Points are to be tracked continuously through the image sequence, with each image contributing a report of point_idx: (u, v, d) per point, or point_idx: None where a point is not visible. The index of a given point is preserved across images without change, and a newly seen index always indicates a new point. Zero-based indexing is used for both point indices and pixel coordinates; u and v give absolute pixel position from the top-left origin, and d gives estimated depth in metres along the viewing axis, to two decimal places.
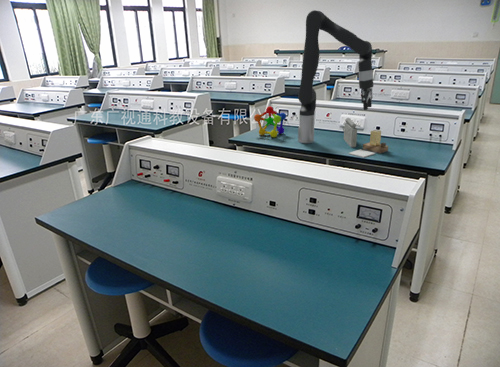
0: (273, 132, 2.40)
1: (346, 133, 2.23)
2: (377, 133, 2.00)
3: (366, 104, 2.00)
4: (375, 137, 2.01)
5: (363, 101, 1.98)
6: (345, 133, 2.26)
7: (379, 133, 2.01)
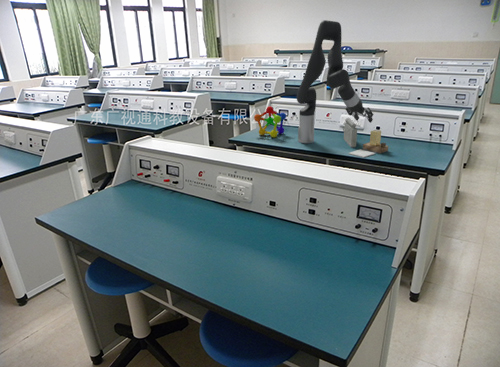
0: (273, 132, 2.40)
1: (346, 133, 2.23)
2: (377, 133, 2.00)
3: None
4: (375, 137, 2.01)
5: None
6: (345, 133, 2.26)
7: (379, 133, 2.01)
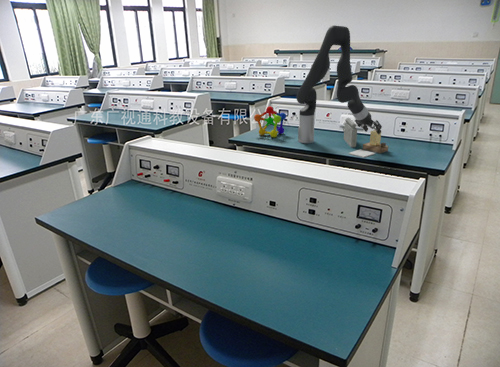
0: (273, 132, 2.40)
1: (346, 133, 2.23)
2: (377, 133, 2.00)
3: None
4: (375, 137, 2.01)
5: (359, 124, 2.03)
6: (345, 133, 2.26)
7: None
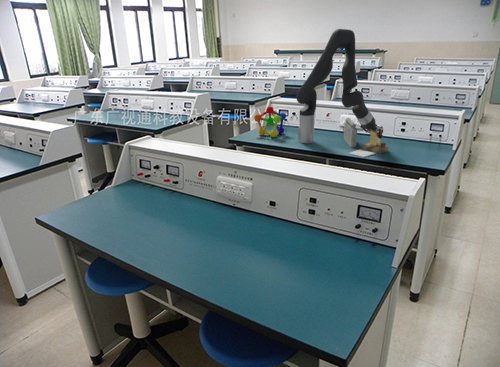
0: (273, 132, 2.40)
1: (346, 133, 2.23)
2: None
3: None
4: (375, 137, 2.01)
5: None
6: (345, 133, 2.26)
7: None
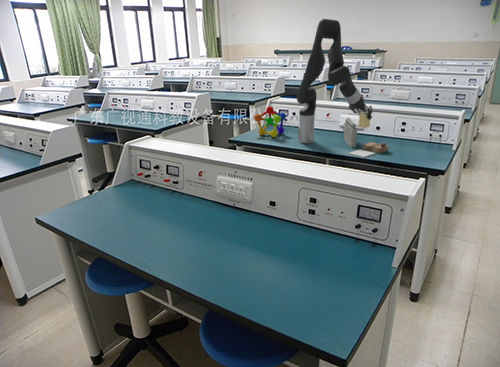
0: (273, 132, 2.40)
1: (346, 133, 2.23)
2: None
3: None
4: (364, 118, 1.91)
5: None
6: (345, 133, 2.26)
7: None
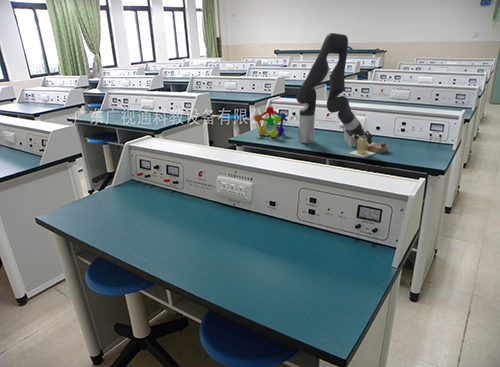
0: (273, 132, 2.40)
1: (346, 133, 2.23)
2: (364, 141, 1.95)
3: (354, 137, 2.00)
4: (362, 145, 1.96)
5: (350, 133, 2.01)
6: (345, 133, 2.26)
7: (366, 141, 1.96)
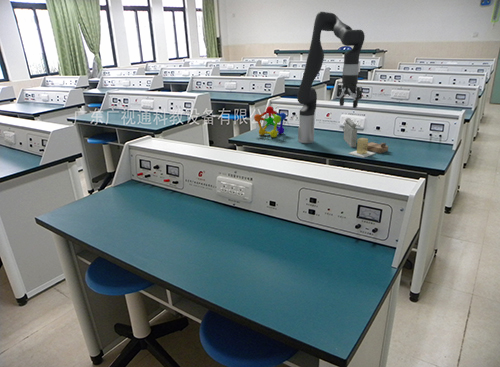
0: (273, 132, 2.40)
1: (346, 133, 2.23)
2: (364, 141, 1.95)
3: None
4: (362, 145, 1.96)
5: None
6: (345, 133, 2.26)
7: (366, 141, 1.96)
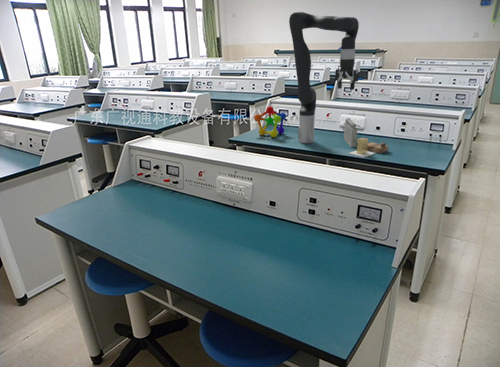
0: (273, 132, 2.40)
1: (346, 133, 2.23)
2: (364, 141, 1.95)
3: None
4: (362, 145, 1.96)
5: None
6: (345, 133, 2.26)
7: (366, 141, 1.96)
